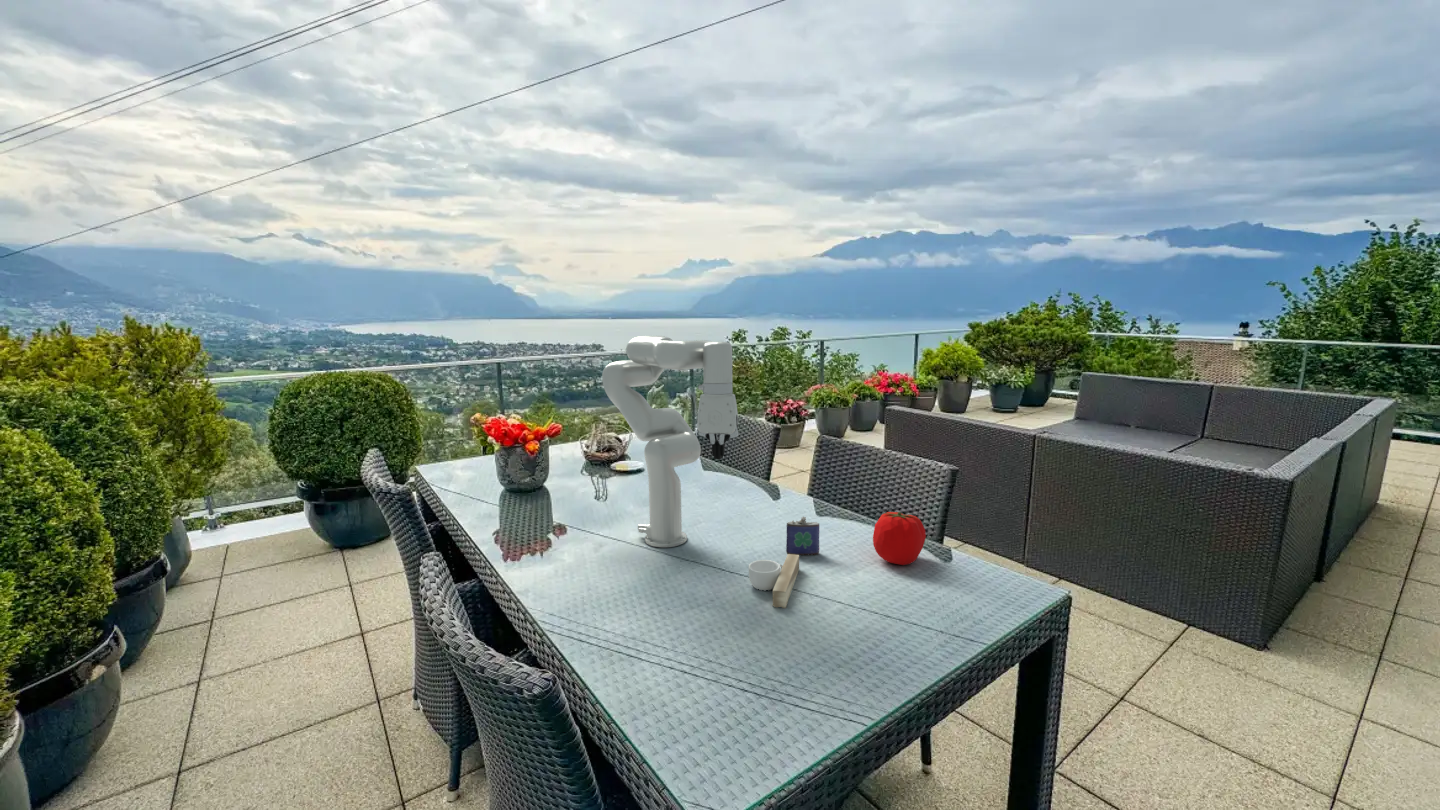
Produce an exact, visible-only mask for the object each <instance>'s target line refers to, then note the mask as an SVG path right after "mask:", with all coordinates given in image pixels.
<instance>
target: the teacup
mask: <svg viewBox="0 0 1440 810" xmlns="http://www.w3.org/2000/svg"><path fill="white" fill-rule="evenodd" d="M782 567H783V564H780V563H778V562H777V561H774V560H770V559H758V560H754V561H752V562H750V563H749V564H748V578H749V582H750V584H751V586H752V587H753V588H755V589H756V590H758V589H759V590H758V591H762V590H764V591H763V592H767V591H766V590H768V591H771V590H773V588H774V586H775V584H776V581H777V579H778V576H779V574H780V572H781V569H782Z"/></svg>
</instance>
